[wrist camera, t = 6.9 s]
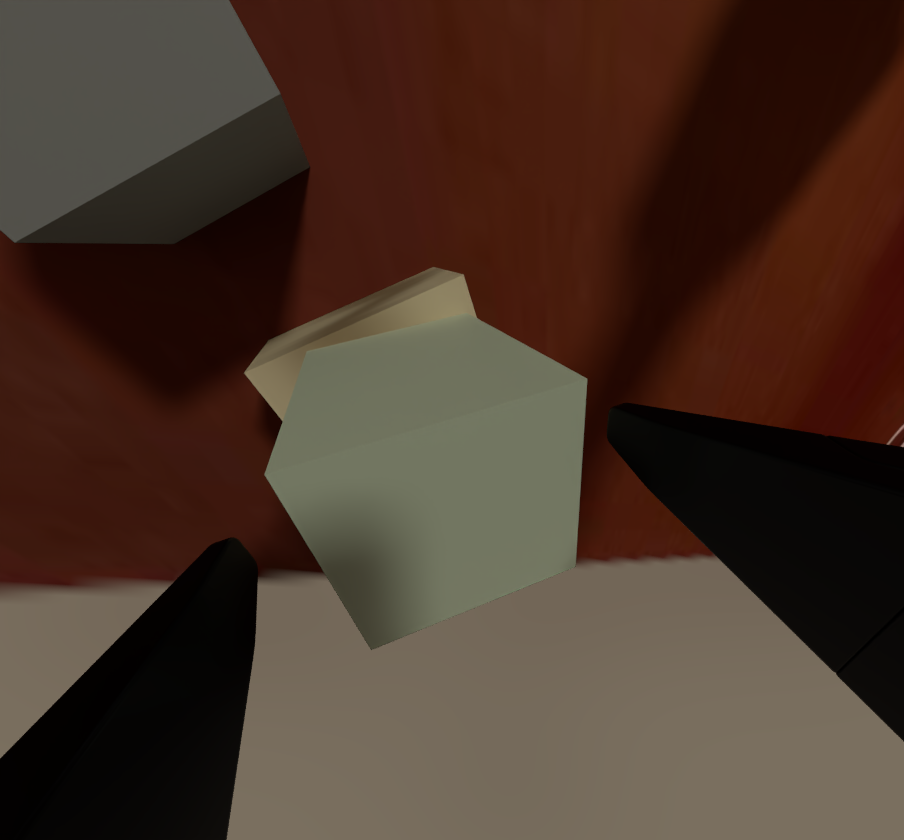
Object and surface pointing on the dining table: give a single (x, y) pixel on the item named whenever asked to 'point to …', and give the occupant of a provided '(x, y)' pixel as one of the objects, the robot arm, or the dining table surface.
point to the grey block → (133, 120)
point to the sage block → (432, 470)
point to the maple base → (357, 328)
